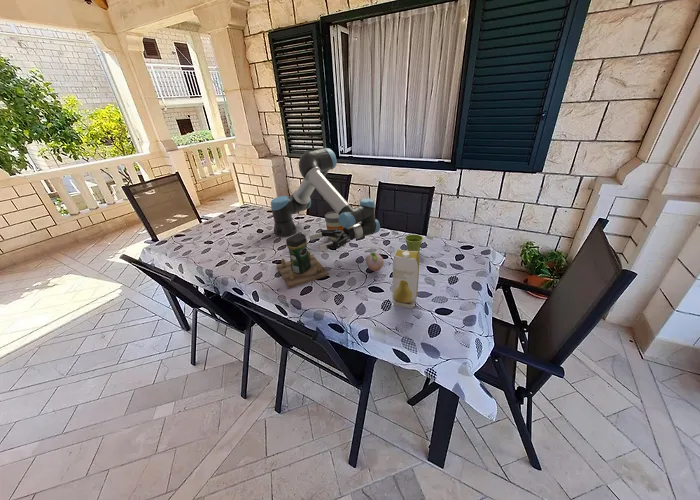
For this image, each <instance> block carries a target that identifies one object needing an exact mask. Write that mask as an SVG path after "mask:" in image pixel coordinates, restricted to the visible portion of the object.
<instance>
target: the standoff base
mask: <svg viewBox="0 0 700 500" xmlns="http://www.w3.org/2000/svg"><path fill="white" fill-rule="evenodd" d="M307 251H308V255H309V259H310V263H311V267H310V268H309V269H308V270H306V271H305V272H303V273H295V272H293V271H292V269H291V260H290V261H286V259H285V258H281V259H280V262H281V263H279V264H276V269H277V270H278V272H279V274H280V276H281V277H282V280H283V281H284V283H285V284H286V286H287V288H288V289H294V288H295V287H298V286H301V285H304V284H307V283H310V282H314V281H316V280H320V279H321V278H325V277H327V276H329V275H330V273H329V271H328V270H327V269H326V268H325V267H324V266H323V265H322V263H321V262H320V261H319V260H318V259H317V258H316V257H315V256H314V255H313V254H311V251H310V250H307Z"/></svg>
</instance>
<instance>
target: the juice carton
mask: <svg viewBox="0 0 700 500" xmlns="http://www.w3.org/2000/svg"><path fill="white" fill-rule="evenodd" d="M419 254H420V252H419V253H418V251H407V250H405V249H397V251H396V253H395V254H394V256H393V257H394V258H393V262H392V302H393V306H395V307H401V308H405V309H414V307H415V304H416V301H417V297H418V293H419V276H420V255H419Z"/></svg>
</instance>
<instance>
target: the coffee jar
mask: <svg viewBox="0 0 700 500" xmlns="http://www.w3.org/2000/svg"><path fill="white" fill-rule="evenodd" d="M285 242H286V248H287V249H288V251H289V259H290V261H291V269H292V271H293V272H295V273H303V272H305V271H306V270H308V269H309V268H310V267H311V263H310V259H309V255H308V251H309V250H308V247H307V244H308V240H307V237H306V234H304V233H301V232H296V233H294V234H292V235H290V236H288V237H287V238H286V239H285Z"/></svg>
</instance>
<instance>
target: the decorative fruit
mask: <svg viewBox="0 0 700 500" xmlns="http://www.w3.org/2000/svg"><path fill="white" fill-rule="evenodd" d="M384 263H385V261H384V258H383V256H381V254H378V253H377V252H372V251H371V252H370V253H369V254H368V255H367V256H366V258H365V264H366V266H367V267H368V269H369V271H372V272H378V271H380V270H381V269H382V268H383V266H384Z"/></svg>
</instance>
